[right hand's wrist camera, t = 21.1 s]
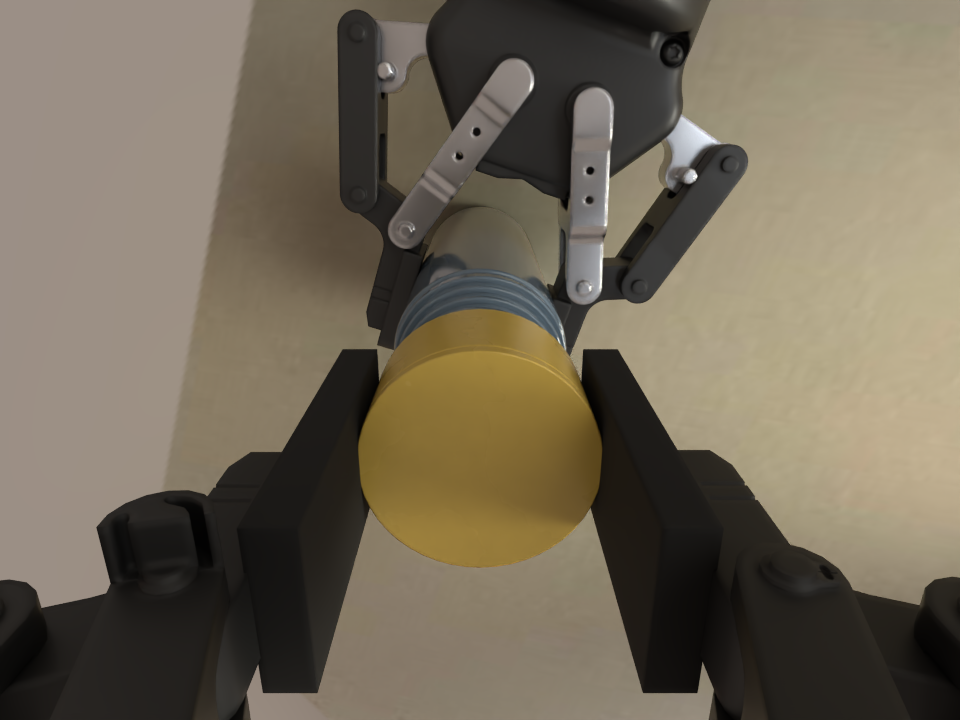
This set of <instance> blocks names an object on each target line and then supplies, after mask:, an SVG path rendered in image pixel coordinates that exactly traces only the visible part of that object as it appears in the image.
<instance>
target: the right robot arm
mask: <svg viewBox="0 0 960 720" xmlns="http://www.w3.org/2000/svg"><path fill="white" fill-rule="evenodd" d="M581 383H582V385H583V388H584V391H585V393H586V396H587V399H588V401H589V404H590V406H591V409H592V412H593V414H594V417H595V419H596V422H597V425H598V428H599V431H600V435H601V439H602V459H601V472H600V484H599V489H598V493H597V495H596V497H595V499H594V501H593V504H592V506H591V511H592V514H593V518H594V521H595V525H596V528H597V532H598V535H599V539H600V543H601V546H602V550H603V553H604V557H605V560H606V564H607V567H608V571H609V574H610V578H611V581H612V585H613V589H614V592H615V596H616V599H617V603H618V606H619V610H620V613H621V617H622V620H623V624H624V627H625V631H626V634H627V638H628V642H629V645H630V649H631V652H632V656H633V659H634V663H635V666H636V670H637V673H638V677H639V680H640V684H641V688H642V691H643V693H697V692H698V686H699V680H700V674H701V667H702V661H703V664H704V666H705V669H706V671H707V673H708V676H709V678H710V681H711V683H712V686H713V688H714V693H713V699H712V704H711V710H710V716H709V720H960V578H958V577H948V578H942V579H936V580H934V581H933V582H931V583H930V584H929V585H928V586H927V587H926V588H925V590H924V594H923V597H922V600H921V603H920V605H915V604H911V603H906V602H901V601H896V600H892V599H887V598H882V597H877V596H873V595H868V594H865V593H861V592H858V591H854V590H852V587H851V585H850V583H849V582H848V580H847V579H846V578H845V576H844V575H843V574H842V572H841V571H840V570H839V569H838V568H837V567H836V566H834V565H833V564H831V563H830V562H829V561H827V560H826V559H825V558H823V557H822V556H819V555H817V554H815V553H813V552H810V551H808V550H806V549H804V548H801V547H797V546H792V545H790V544H789V543H788V541H787V540H786V539H785V537H784V536H783V534H782V533H781V532H780V530H779V529H778V528H777V526H776V525H775V523H774V522H773V521H772V519H771V518H770V516H769V515H768V514H767V512H766V511H765V510H764V508H763V507H762V505H761V504H760V503H759V501H758V500H755V496H754V494H753V493H752V492H751V490H750V489H749V488H748V486H745V484H744V483H745V482H744V481H743V479H742V478H741V477H740V475H739V474H738V472H737V471H736V470H735V468H734V467H733V465H731V464H730V463H728V462H727V461H725V460H724V459H722V458H721V457H719V456H718V455H716V454H715V453H713V452H712V451H710V450H677V449H676V447H675V445H674V444H673V442H672V440H671V438H670V437H669V435H668V433H667V432H666V430H665V428H664V427H663V425H662V423H661V422H660V420H659V418H658V417H657V415H656V413H655V411H654V410H653V408H652V406H651V405H650V403H649V401H648V400H647V398H646V396H645V395H644V393H643V391H642V390H641V388H640V386H639V385H638V383H637V381H636V379H635V378H634V376H633V374H632V373H631V371H630V369H629V368H628V366H627V364H626V363H625V361H624V359H623V358H622V356H621V354H620V352H619V351H618V349H583V363H582V379H581ZM378 384H379V373H378V356H377V349H343V350H342V351H341V353H340V355H339V357H338V358H337V360H336V362H335V363H334V365H333V367H332V368H331V370H330V372H329V373H328V375H327V377H326V378H325V380H324V382H323V384H322V385H321V387H320V389H319V390H318V392H317V394H316V395H315V397H314V399H313V400H312V402H311V404H310V405H309V407H308V409H307V411H306V412H305V414H304V416H303V417H302V419H301V421H300V422H299V424H298V426H297V427H296V429H295V431H294V432H293V434H292V436H291V437H290V439H289V441H288V443H287V444H286V446H285V448H284V449H283V451H282V452H250V453H249V454H247V455H246V456H244V457H243V458H241V459H240V460H238V461H237V462H235V463H234V464H232V465H231V466H229V467H228V469H227V470H226V471H225V473H224V474H223V476H222V477H221V478H220V480H219V481H218V483H217V484H216V488H213V490H212V491H211V492H210V494H209V495H208V496H206V495H205V494H201V493H197V492H193V491H189V490H183V491H165V492H160V493H155V494H151V495H146V496H143V497H141V498H138V499H136V500H133V501H130V502H128V503H125V504H124V505H122V506H121V507H119V508H117V509H116V510H114V511H113V512H111V513H109V514H108V515H107V516H106V517H105V518H104V519H103V520H102V522H101V523H100V524H99V525H98V526H97V531H98V535H99V539H100V543H101V547H102V551H103V555H104V559H105V563H106V567H107V571H108V575H109V579H110V583H111V584H110V586H109V589H108V591H107V593H106V594H102V595H99V596H95V597H92V598H87V599H82V600H78V601H73V602H68V603H63V604H59V605H54V606H49V607H45V608H41V605H40V602H39V598H38V595H37V592H36V590H35V589H34V588H32V587H31V586H30V585H29V584H28V583H26V582H21V581H15V580H1V581H0V720H251V719H250V712H249V704H248V699H247V690H248V688H249V685H250V683H251V680H252V678H253V675H254V673H255V670H256V668H257V665H259V671H260V677H261V684H262V689H263V693H318V689H319V685H320V682H321V678H322V675H323V671H324V668H325V664H326V661H327V657H328V654H329V650H330V647H331V643H332V639H333V636H334V632H335V629H336V625H337V622H338V618H339V615H340V611H341V608H342V604H343V601H344V597H345V593H346V590H347V586H348V583H349V579H350V576H351V572H352V569H353V565H354V562H355V558H356V555H357V551H358V547H359V544H360V540H361V537H362V533H363V530H364V526H365V523H366V519H367V516H368V512H369V509H370V507H369V505H368V502H367V500H366V498H365V496H364V494H363V491H362V488H361V480H360V467H359V454H358V441H359V436H360V433H361V429H362V426H363V423H364V421H365V418H366V415H367V413H368V410H369V407H370V405H371V402H372V400H373V397H374V394H375V392H376V389H377V386H378Z"/></svg>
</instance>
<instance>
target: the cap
mask: <svg viewBox="0 0 960 720" xmlns="http://www.w3.org/2000/svg"><path fill="white" fill-rule="evenodd" d="M358 454H359V467H360V480H361V488H362V491H363V494H364V496H365V498H366V500H367V502H368V505H369V507H370V508H371V510H372V511H373V513H374V514H375V516H376V517H377V519H378V520H379V521H380V523H381V524H382V525H383V526H384V527H385V528H386V529H387V531H389V532H390V533H391V534H392V535H393V536H394V537H395V538H396V539H398V540H399V541H400V542H402V543H403V544H405V545H406V546H408V547H409V548H411V549H412V550H414V551H416V552H418V553H420V554H422V555H424V556H427V557H429V558H432V559H434V560H437V561H440V562H444V563H448V564H452V565H458V566H464V567H497V566H502V565H508V564H513V563H516V562H520V561H523V560H526V559H529V558H531V557H534V556H536V555H539V554H541V553H542V552H544V551H546V550H548V549H550V548H552V547H553V546H554V545H556V544H557V543H559V542H560V541H561V540H563V539H564V538H565V537H566V536H567V535H568V534H570V533H571V532H572V531H573V530H574V529H575V528H576V527H577V525H578V524H579V523H580V522H581V521H582V519H583V518H584V517H585V515H586V514H587V512H588V510H589V509H590V507H591V506H592V504H593V501H594V499H595V497H596V495H597V493H598V489H599V484H600V472H601V459H602V439H601V435H600V431H599V428H598V425H597V422H596V419H595V417H594V414H593V412H592V409H591V406H590V404H589V401H588V399H587V396H586V393H585V391H584V388H583V385H582V383H581V380H580V378H579V375H578V372H577V370H576V368H575V366H574V364H573V362H572V360H571V358H570V356H569V355H568V353H567V352H566V350H565V349H564V348H563V347H562V345H561V344H560V343H559V342H558V341H557V340H556V339H555V338H554V337H553V336H552V335H551V334H549V333H548V332H547V331H546V330H545V329H543V328H541V327H540V326H538V325H537V324H535V323H534V322H532V321H529V320H527V319H525V318H523V317H521V316H518V315H515V314H511V313H508V312H504V311H498V310H491V309H470V310H462V311H457V312H452V313H449V314H446V315H443V316H440V317H437V318H435V319H433V320H431V321H429V322H427V323H425V324H424V325H422V326H421V327H419V328H418V329H416V330H415V331H413V332H412V333H411V334H410V335H409V336H408V337H406V338H405V339H404V340H403V341H402V343H401V344H400V345H399V346H398V347H397V348H396V349H395V351H394V352H393V354H392V356H391V357H390V359H389V360H388V362H387V364H386V367H385V369H384V371H383V373H382V376H381V379H380V381H379V384H378V386H377V389H376V392H375V394H374V397H373V400H372V402H371V405H370V407H369V410H368V413H367V415H366V418H365V421H364V423H363V426H362V429H361V433H360V436H359V441H358Z"/></svg>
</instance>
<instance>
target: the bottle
mask: <svg viewBox="0 0 960 720" xmlns="http://www.w3.org/2000/svg"><path fill="white" fill-rule="evenodd" d="M470 309H491V310H498V311H504V312H508V313H511V314H515V315H518V316H521V317H523V318H525V319H527V320H529V321H532V322H534V323H535V324H537V325H538V326H540V327H541V328H543V329H545V330H546V331H547V332H548V333H549V334H551V335H552V336H553V337H554V338H555V339H556V340H557V341H558V342H559V343H560V344H561V345H562V347H563V348H564V349H565V350H566V338H565V333H564V329H563V326H562V323H561V320H560V318H559V315H558V312H557V310H556V307H555V305H554V302H553V300H552V297H551V295H550V292H549V290H548V287H547V285H546V282H545V280H544V277H543V275H542V272H541V270H540V267H539V265H538V262H537V260H536V257H535V254H534V252H533V249H532V247H531V244H530V242H529V239H528V237H527V235H526V233H525V231H524V230H523V228H522V227H521V226H520V225H519V223H518V222H517V221H516V220H514V219H513V218H512V217H511V216H509V215H508V214H506V213H504V212H502V211H500V210H497V209H494V208H489V207H471V208H467V209H463V210H461V211H458V212H456V213H455V214H453V215H451V216H450V217H449V218H447V219H446V220H445V221H444V222H443V223H442V224H441V225H440V226H439V228H438V229H437V231H436V232H435V234H434V236H433V238H432V241H431V243H430V246H429V248H428V251H427V253H426V256H425V258H424V261H423V264H422V266H421V269H420V271H419V274H418V276H417V279H416V281H415V284H414V286H413V289H412V291H411V294H410V296H409V299H408V301H407V304H406V306H405V309H404V311H403V314H402V316H401V319H400V321H399V324H398V327H397V331H396V335H395V343H394V351H395V349H396V348H397V347H398V346H399V345H400V344H401V343H402V341H403V340H404V339H405V338H406V337H408V336H409V335H410V334H411V333H412V332H413V331H415V330H416V329H418V328H419V327H421V326H422V325H424V324H425V323H427V322H429V321H431V320H433V319H435V318H437V317H440V316H443V315H446V314H449V313H452V312H457V311H462V310H470Z"/></svg>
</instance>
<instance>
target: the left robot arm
mask: <svg viewBox="0 0 960 720" xmlns="http://www.w3.org/2000/svg"><path fill="white" fill-rule="evenodd" d="M709 2H710V0H447V1H446V2H445V3H444V5H443V6H442V7H441V8H440V9H439V10H438V11H437V12H436V13H435V14H434V16H433V17H432V19H431V21H430V23H429V24H428V23H413V22H399V21H384V20H376V19H374V18H372V17H371V16H370V15H369V14H368V13H366V12H364V11H362V10H351V11H348V12H346V13H345V14H344V15H343V16H342V17H341V19H340V21H339V23H338V30H337V35H338V98H339V161H340V197H341V201H342V203H343V204H344V206H345V207H346V208H347V209H348V210H350V211H352V212H354V213H359V214H361V215H362V216H363V217H365V218H366V219H367V220H369V221H370V222H371V223H372V224H374V225H375V226H376V227H377V228H378V229H379V231H380V232H381V234H382V237H383V241H384V248H383V252H382V256H381V260H380V263H379V267H378V271H377V274H376V278H375V282H374V286H373V289H372V293H371V297H370V300H369V304H368V308H367V311H366V313H367V320H368V326H369V327H372V328H376V329H379V330H381V333H380V336H379V340H378V344H377V345H378V346H382V347H385V348H388V349H392V350H394V343H395V335H396V331H397V327H398V324H399V321H400V319H401V316H402V314H403V311H404V309H405V306H406V304H407V301H408V299H409V296H410V294H411V291H412V289H413V286H414V284H415V281H416V279H417V276H418V274H419V271H420V269H421V266H422V263H423V260H424V256H425V253H426V250H427V246H428V245H426V244H423V241H424V238H425V235H426V234H427V232H428V231H429V229H430V228H431V227H432V225H433V224H434V223H435V221H436V220H437V219H438V217H439V216H440V214H441V213H442V212H443V210H444V209H445V208H446V206H447V205H448V203H449V202H450V201H451V200H452V198H453V197H454V196H455V195H456V193H457V192H458V191H459V189H460V188H461V187H462V185H463V184H464V182H465V181H466V180H467V178H468V177H469V176H470V174H471V173H472V171H473V170H474V169H475V168H476V171H479V172H482V173H485V174H488V175H491V176H494V177H497V178H509V179H522V180H525V181H526V182H528V183H529V184H531V185H532V186H534V187H535V188H537V189H538V190H539V191H541V192H542V193H544V194H547V195H550V196H553V197H556V198H558V222H559V273H558V276H557V278H556V281H555V284H554V286H553V285H550V284H547V287H548V290H549V292H550V295H551V297H552V300H553V302H554V305H555V307H556V310H557V312H558V315H559V318H560V320H561V323H562V326H563V329H564V333H565V338H566V352H567V353H568V355H569V356H570V354H571V352H572V348H573V347H574V344H575V342H576V339H577V337H578V334H579V332H580V329H581V326H582V324H583V321H584V319H585V316H586V314H587V312H588V310H589V309H590V308H591V307H592V306H593V305H594V304H596V303H598V302H600V301H603V300H617V299H627V300H628V301H630V302H632V303H643V302H646V301H648V300H649V299H650V298H651V297H652V296H653V295H654V294H655V292H656V291H657V290H658V288H659V287H660V286H661V284H662V283H663V282H664V280H665V279H666V278H667V276H668V275H669V274H670V272H671V271H672V269H673V268H674V267H675V265H676V264H677V263H678V261H679V260H680V259H681V257H682V256H683V255H684V253H685V252H686V251H687V249H688V248H689V247H690V245H691V244H692V243H693V241H694V240H695V239H696V237H697V236H698V235H699V233H700V232H701V231H702V229H703V228H704V227H705V225H706V224H707V223H708V221H709V220H710V219H711V217H712V216H713V215H714V213H715V212H716V211H717V209H718V208H719V207H720V205H721V204H722V203H723V201H724V200H725V199H726V197H727V196H728V195H729V193H730V192H731V191H732V189H733V188H734V187H735V185H736V184H737V183H738V181H739V180H740V179H741V177H742V176H743V175H744V173H745V171H746V169H747V166H748V157H747V154H746V152H745V151H744V150H743V149H742V148H741V147H739V146H737V145H732V144H729V143H721V142H719V141H717V140H716V139H715V138H713V137H712V136H711V135H709V134H708V133H706V132H705V131H704V130H702V129H701V128H700V127H698V126H697V125H695V124H694V123H693V122H691V121H690V120H689V119H687V118H686V117H684V116H683V115H682V109H683V97H682V74H683V69H684V65H685V62H686V59H687V57H688V54H689V52H690V50H691V47H692V45H693V42H694V40H695V37H696V35H697V32H698V30H699V27H700V25H701V22H702V20H703V17H704V15H705V12H706V10H707V7H708V5H709ZM424 58H429V61H430V64H431V67H432V71H433V74H434V77H435V80H436V83H437V86H438V89H439V92H440V95H441V99H442V102H443V105H444V108H445V111H446V114H447V117H448V120H449V123H450V127H451V130H452V133H451V135H450V136H449V137H448V139H447V140H446V142H445V143H444V144H443V146H442V147H441V149H440V150H439V152H438V153H437V154H436V156H435V157H434V159H433V160H432V162H431V163H430V164H429V166H428V167H427V169H426V170H425V172H424V173H423V175H422V176H421V178H420V179H419V181H418V182H417V183H416V185H415V186H414V188H413V189H412V191H411V192H410V193H409V195H408V196H407V197H406V196H405V195H403V194H402V193H401V192H399V191H398V190H397V189H396V188H394V187H393V186H392V185H390V184H389V183H388V182H387V131H388V93H389V94H394V93H398V92H400V91H402V90H403V89H404V88H405V87H406V85H407V83H408V80H409V74H410V71H411V68H412V67H413V65H414V64H415V63H416V62H417V61H419V60H421V59H424ZM660 142H661V143H662V145H663V147H664V151H665V155H664V160H663V162H662V164H661V166H660V169H659V180H660V183H661V184H662V186H663V187H665V188H664V189H663V191H662V192H661V194H660V195H659V196H658V198H657V199H656V201H655V202H654V203H653V205H652V206H651V208H650V209H649V210H648V212H647V213H646V215H645V216H644V218H643V219H642V220H641V222H640V223H639V225H638V226H637V227H636V229H635V230H634V232H633V233H632V234H631V236H630V237H629V239H628V240H627V241H626V243H625V244H624V246H623V247H622V248H621V250H620V251H619V253H618V254H617V255H616V257H615V258H603V243H604V237H605V235H606V231H607V216H608V192H609V179H610V178H611V177H612V176H614V175H615V174H617V173H618V172H619V171H621V170H622V169H623V168H625V167H626V166H628V165H629V164H630V163H632V162H633V161H635V160H636V159H637V158H639V157H640V156H642V155H643V154H644V153H646V152H647V151H649V150H650V149H651V148H653V147H654V146H655V145H657V144H658V143H660ZM459 152H460V153H461V154H462V155H461V154H460V153H459Z"/></svg>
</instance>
